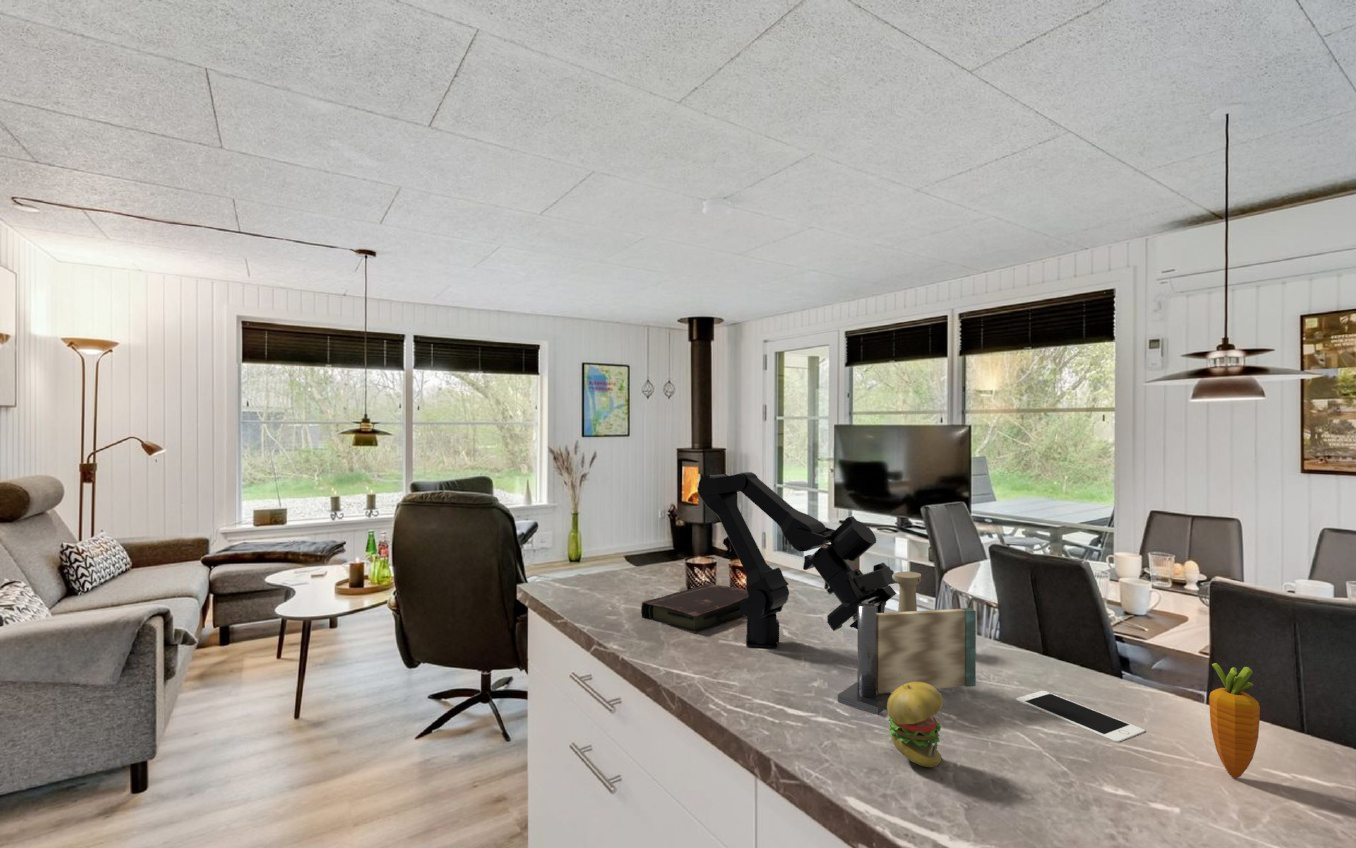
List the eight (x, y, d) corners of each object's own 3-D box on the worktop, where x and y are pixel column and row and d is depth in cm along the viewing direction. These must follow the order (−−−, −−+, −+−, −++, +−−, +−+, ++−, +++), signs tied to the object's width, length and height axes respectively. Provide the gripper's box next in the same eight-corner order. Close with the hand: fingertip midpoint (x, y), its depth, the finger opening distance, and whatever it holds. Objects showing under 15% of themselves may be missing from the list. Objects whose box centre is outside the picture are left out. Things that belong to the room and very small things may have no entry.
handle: (925, 644, 132) (925, 574, 132) (910, 651, 127) (911, 579, 128) (904, 638, 135) (904, 570, 136) (889, 645, 131) (889, 574, 131)
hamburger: (949, 779, 81) (949, 687, 81) (891, 773, 82) (892, 682, 82) (935, 749, 88) (935, 665, 88) (882, 744, 89) (883, 661, 90)
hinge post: (877, 714, 99) (878, 614, 99) (837, 701, 103) (838, 606, 104) (895, 700, 104) (895, 605, 104) (856, 689, 109) (856, 598, 109)
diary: (640, 620, 149) (640, 599, 150) (706, 600, 168) (706, 581, 168) (697, 637, 137) (697, 614, 137) (763, 613, 155) (763, 593, 155)
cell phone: (1117, 745, 90) (1117, 741, 90) (1014, 702, 105) (1014, 698, 105) (1146, 734, 94) (1146, 730, 94) (1043, 693, 108) (1043, 690, 108)
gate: (879, 693, 103) (879, 615, 103) (873, 689, 105) (874, 612, 105) (975, 686, 107) (975, 610, 107) (968, 682, 108) (969, 607, 109)
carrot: (1199, 768, 84) (1199, 657, 84) (1232, 767, 84) (1232, 657, 84) (1235, 790, 79) (1235, 672, 79) (1271, 788, 79) (1270, 671, 79)
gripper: (844, 557, 109) (904, 634, 102) (887, 544, 123) (942, 611, 116) (804, 593, 115) (858, 669, 107) (849, 576, 129) (900, 642, 121)
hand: (892, 646), depth 113 cm, fingers closed
